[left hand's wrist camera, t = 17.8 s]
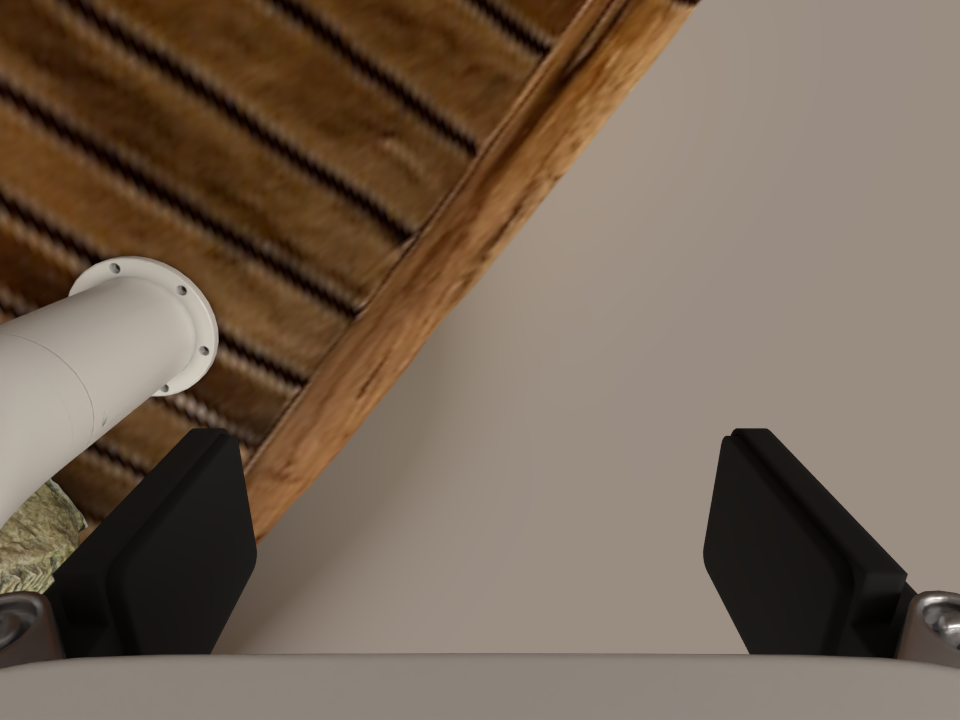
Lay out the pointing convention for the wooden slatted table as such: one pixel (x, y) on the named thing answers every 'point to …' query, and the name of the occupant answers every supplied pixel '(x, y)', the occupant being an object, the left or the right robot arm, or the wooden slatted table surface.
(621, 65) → the wooden slatted table surface
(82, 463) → the wooden slatted table surface
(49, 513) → the fossil
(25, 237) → the wooden slatted table surface
